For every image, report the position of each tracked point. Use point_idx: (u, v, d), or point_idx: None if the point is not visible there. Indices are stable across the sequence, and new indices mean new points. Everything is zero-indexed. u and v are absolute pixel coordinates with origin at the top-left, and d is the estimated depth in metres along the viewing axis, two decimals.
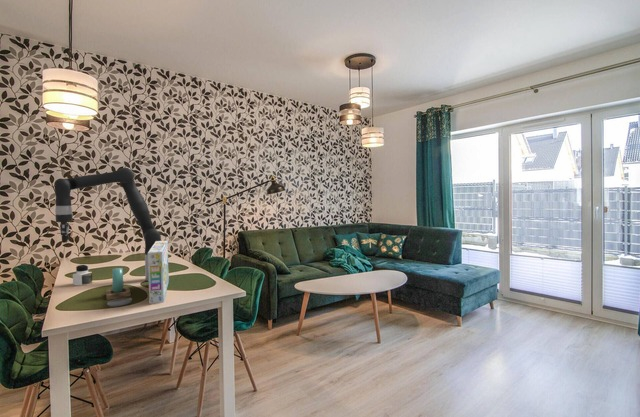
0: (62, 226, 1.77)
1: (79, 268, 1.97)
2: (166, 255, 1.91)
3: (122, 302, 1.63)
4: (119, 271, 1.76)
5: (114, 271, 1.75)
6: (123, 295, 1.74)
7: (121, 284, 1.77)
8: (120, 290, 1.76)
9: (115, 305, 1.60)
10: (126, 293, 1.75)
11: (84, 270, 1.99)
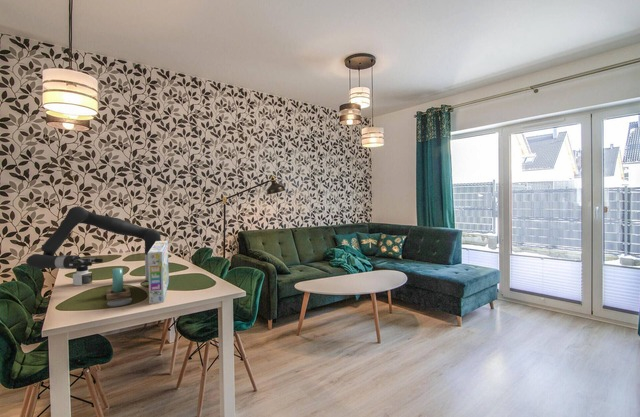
0: (71, 265, 1.70)
1: (79, 268, 1.97)
2: (166, 255, 1.91)
3: (122, 302, 1.63)
4: (119, 271, 1.76)
5: (114, 271, 1.75)
6: (123, 295, 1.74)
7: (121, 284, 1.77)
8: (120, 290, 1.76)
9: (115, 305, 1.60)
10: (126, 293, 1.75)
11: (84, 270, 1.99)
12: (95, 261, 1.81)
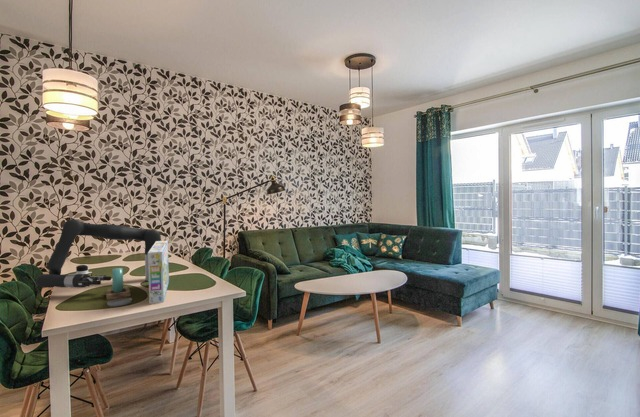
0: (80, 284, 1.70)
1: (79, 268, 1.97)
2: (166, 255, 1.91)
3: (122, 302, 1.63)
4: (119, 271, 1.76)
5: (114, 271, 1.75)
6: (123, 295, 1.74)
7: (121, 284, 1.77)
8: (120, 290, 1.76)
9: (115, 305, 1.60)
10: (126, 293, 1.75)
11: (84, 270, 1.99)
12: (104, 279, 1.81)
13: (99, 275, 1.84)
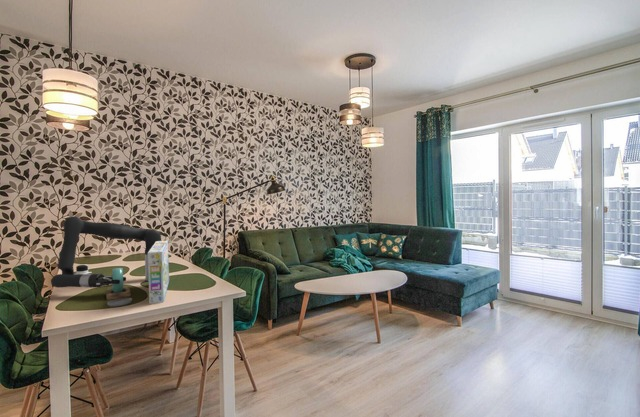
0: (98, 284, 1.71)
1: (79, 268, 1.97)
2: (166, 255, 1.91)
3: (122, 302, 1.63)
4: (119, 271, 1.76)
5: (114, 271, 1.75)
6: (123, 295, 1.74)
7: (121, 284, 1.77)
8: (120, 290, 1.76)
9: (115, 305, 1.60)
10: (126, 293, 1.75)
11: (84, 270, 1.99)
12: None
13: None
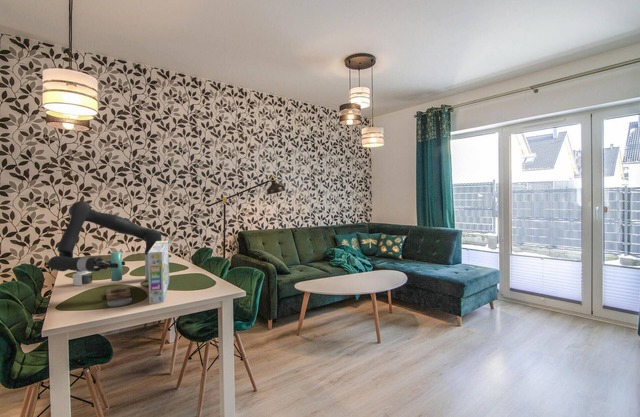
0: (96, 267, 1.64)
1: None
2: None
3: (122, 302, 1.63)
4: (118, 255, 1.69)
5: (112, 254, 1.68)
6: (123, 295, 1.74)
7: (120, 268, 1.70)
8: (118, 274, 1.70)
9: (115, 305, 1.60)
10: (126, 293, 1.75)
11: None
12: None
13: None
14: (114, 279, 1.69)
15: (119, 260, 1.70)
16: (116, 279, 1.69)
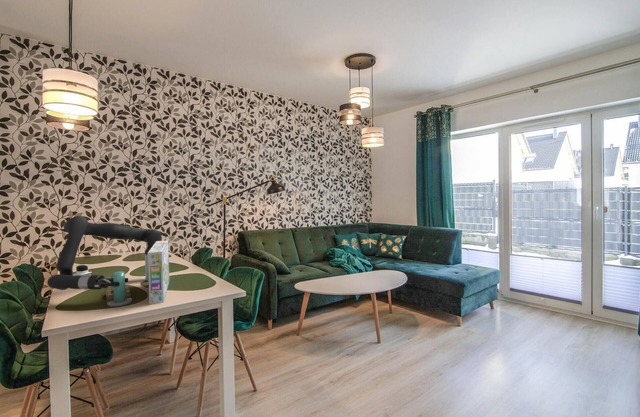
0: (97, 286, 1.58)
1: (79, 268, 1.97)
2: None
3: (122, 302, 1.63)
4: (121, 275, 1.63)
5: (115, 275, 1.62)
6: None
7: (123, 289, 1.64)
8: (122, 295, 1.64)
9: (115, 305, 1.60)
10: (126, 293, 1.75)
11: (84, 270, 1.99)
12: None
13: None
14: (117, 300, 1.63)
15: (122, 280, 1.64)
16: (119, 300, 1.63)
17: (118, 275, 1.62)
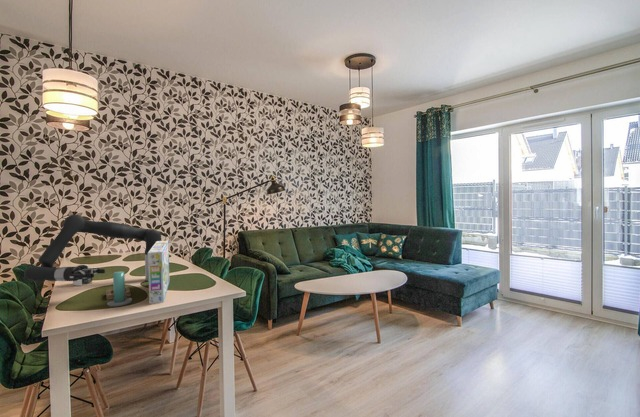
0: (71, 277, 1.61)
1: None
2: None
3: (122, 302, 1.63)
4: (121, 275, 1.63)
5: (115, 275, 1.62)
6: None
7: (123, 289, 1.64)
8: (122, 295, 1.64)
9: (115, 305, 1.60)
10: (126, 293, 1.75)
11: None
12: (97, 272, 1.72)
13: (92, 268, 1.74)
14: (117, 300, 1.63)
15: (122, 280, 1.64)
16: (119, 300, 1.63)
17: (118, 275, 1.63)
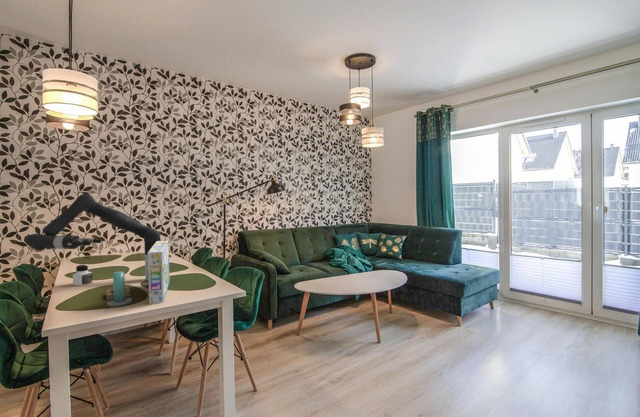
0: (69, 244, 1.70)
1: (79, 268, 1.97)
2: None
3: (122, 302, 1.63)
4: (120, 275, 1.63)
5: (115, 275, 1.62)
6: None
7: (123, 289, 1.64)
8: (121, 295, 1.64)
9: (115, 305, 1.60)
10: (126, 293, 1.75)
11: (84, 270, 1.99)
12: (94, 241, 1.80)
13: (89, 238, 1.83)
14: (117, 300, 1.63)
15: (122, 280, 1.64)
16: (119, 300, 1.63)
17: (118, 275, 1.62)
